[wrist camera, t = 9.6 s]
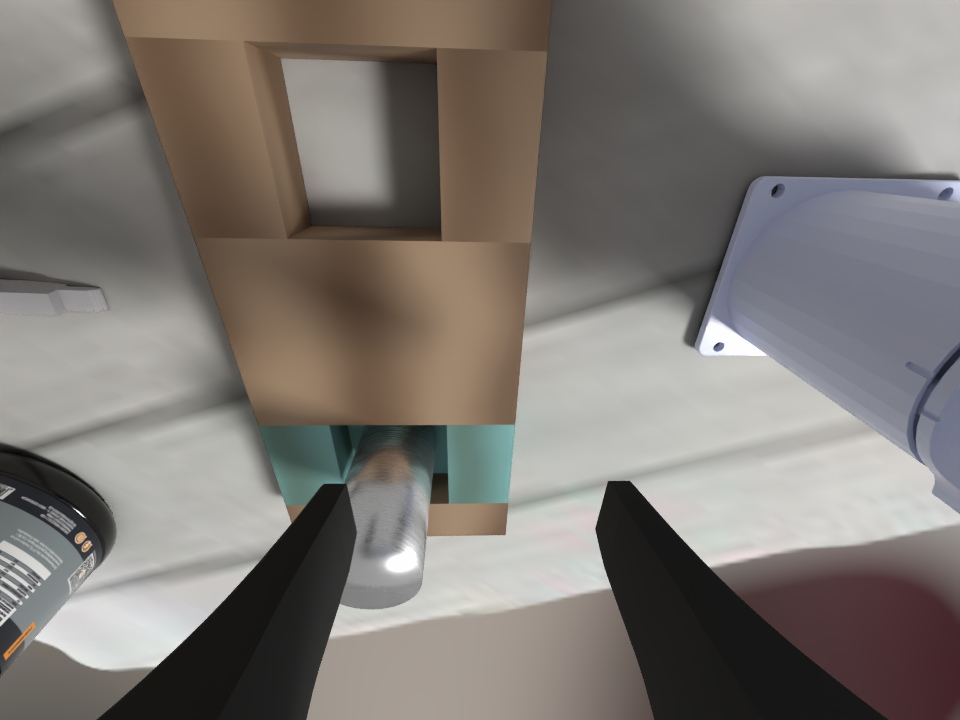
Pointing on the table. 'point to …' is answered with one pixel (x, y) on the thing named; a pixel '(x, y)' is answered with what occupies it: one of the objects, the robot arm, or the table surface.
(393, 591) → the metal pin
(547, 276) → the table surface
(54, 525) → the supplement container
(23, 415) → the table surface
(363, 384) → the board
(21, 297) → the caliper
